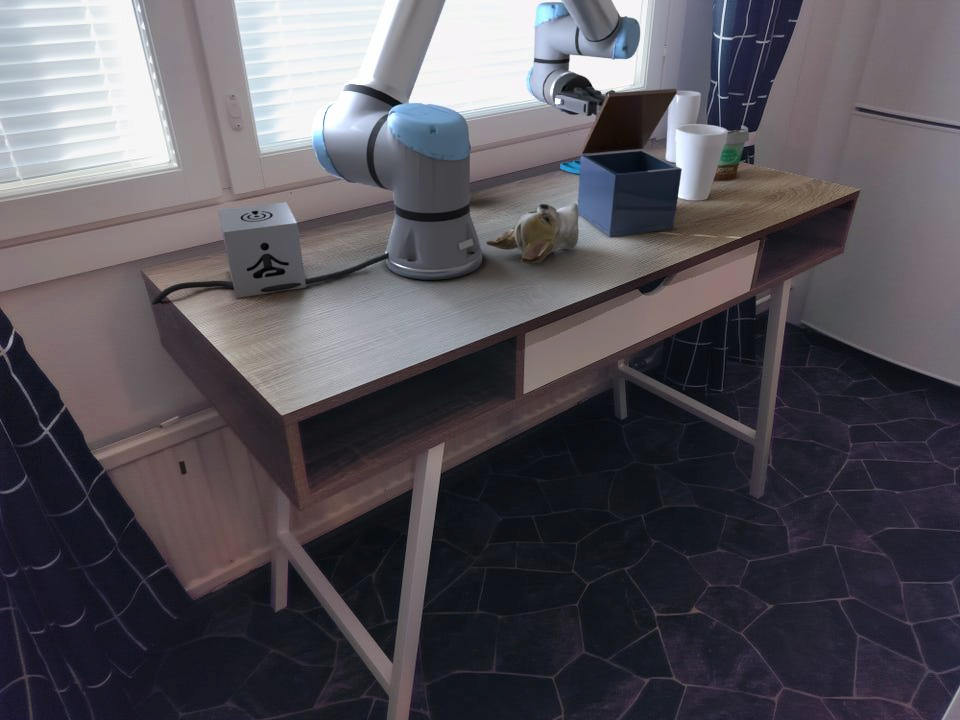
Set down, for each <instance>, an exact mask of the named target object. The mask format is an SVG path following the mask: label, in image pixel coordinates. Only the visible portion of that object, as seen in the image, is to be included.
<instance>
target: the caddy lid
mask: <svg viewBox="0 0 960 720" xmlns="http://www.w3.org/2000/svg"><path fill="white" fill-rule="evenodd" d="M677 91H678V90H677V89H676V88H665V89H664V88H663V89H650V90H635V91H634V90H633V91H632V90H631V91H620V92H619V91H618V92H616V91H615V93H608V94H607V96H606V98H605V100H604V102H603V104H602V107H601V109H600V111H599V113H598V115H597V117H596V116H595V119H594V121H593V124H592V125H591V127H590V130H589V132H588V134H587V137H586V138H585V140H584V142H583V145H582V147H581V149H580V154H581V155H588V154H600V153H611V152H622V151H633V150H644V149H645V148H646V146H647V144H648V142H649V140H650V139H651V137H652V136H653V134H654V132H655V130H656V128H657V127H658V126H659V124H660V122H661V121H662V119H663V117H664V115H665V114H666V112H667V111H668V108H669V105H670V103H671V102H672V100H673V98H674V97H675V95H676V93H677Z"/></svg>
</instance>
